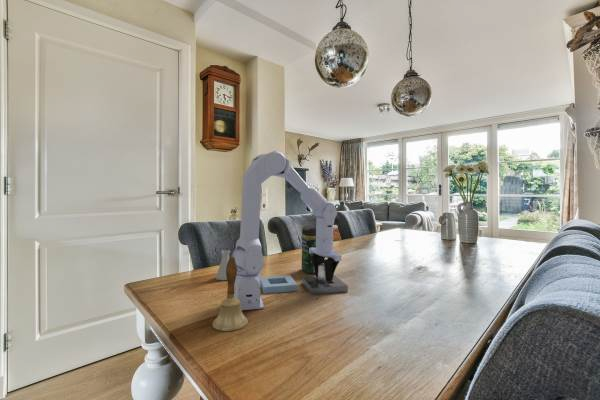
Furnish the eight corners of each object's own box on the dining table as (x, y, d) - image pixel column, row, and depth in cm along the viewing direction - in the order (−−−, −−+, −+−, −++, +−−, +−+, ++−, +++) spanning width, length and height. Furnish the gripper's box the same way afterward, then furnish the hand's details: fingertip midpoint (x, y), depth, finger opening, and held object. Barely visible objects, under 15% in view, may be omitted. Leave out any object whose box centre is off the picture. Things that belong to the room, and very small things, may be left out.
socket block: (347, 291, 92) (347, 285, 92) (312, 294, 89) (312, 288, 89) (333, 280, 103) (334, 275, 103) (302, 282, 100) (302, 277, 100)
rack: (297, 290, 92) (297, 284, 92) (263, 293, 89) (263, 287, 89) (290, 280, 103) (290, 275, 103) (259, 282, 100) (259, 277, 100)
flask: (238, 275, 108) (238, 249, 108) (231, 281, 101) (231, 253, 101) (219, 275, 109) (219, 249, 109) (211, 280, 102) (212, 252, 102)
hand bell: (233, 313, 75) (233, 252, 74) (255, 322, 69) (255, 257, 69) (205, 324, 68) (205, 257, 68) (226, 335, 63) (226, 263, 63)
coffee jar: (299, 268, 119) (299, 224, 119) (316, 267, 122) (317, 224, 121) (306, 275, 110) (307, 227, 110) (325, 273, 112) (326, 226, 112)
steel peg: (331, 288, 95) (331, 266, 94) (320, 289, 94) (320, 266, 93) (327, 285, 98) (327, 263, 98) (316, 285, 97) (316, 264, 97)
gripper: (348, 240, 92) (347, 281, 92) (320, 234, 104) (319, 271, 104) (332, 241, 88) (331, 285, 88) (304, 235, 100) (304, 274, 100)
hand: (324, 278), depth 96 cm, fingers open, 5 cm apart
